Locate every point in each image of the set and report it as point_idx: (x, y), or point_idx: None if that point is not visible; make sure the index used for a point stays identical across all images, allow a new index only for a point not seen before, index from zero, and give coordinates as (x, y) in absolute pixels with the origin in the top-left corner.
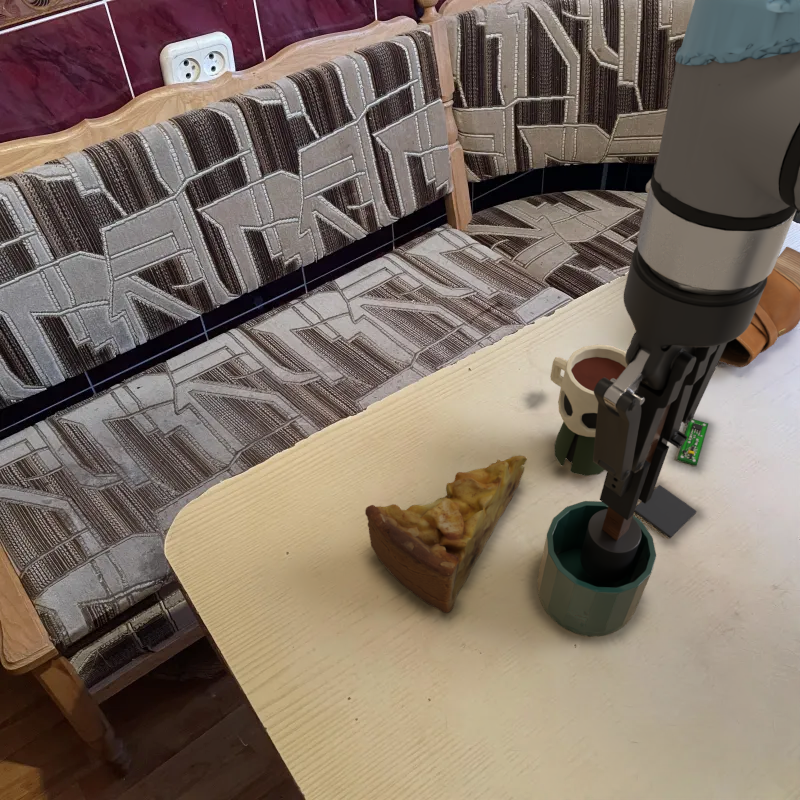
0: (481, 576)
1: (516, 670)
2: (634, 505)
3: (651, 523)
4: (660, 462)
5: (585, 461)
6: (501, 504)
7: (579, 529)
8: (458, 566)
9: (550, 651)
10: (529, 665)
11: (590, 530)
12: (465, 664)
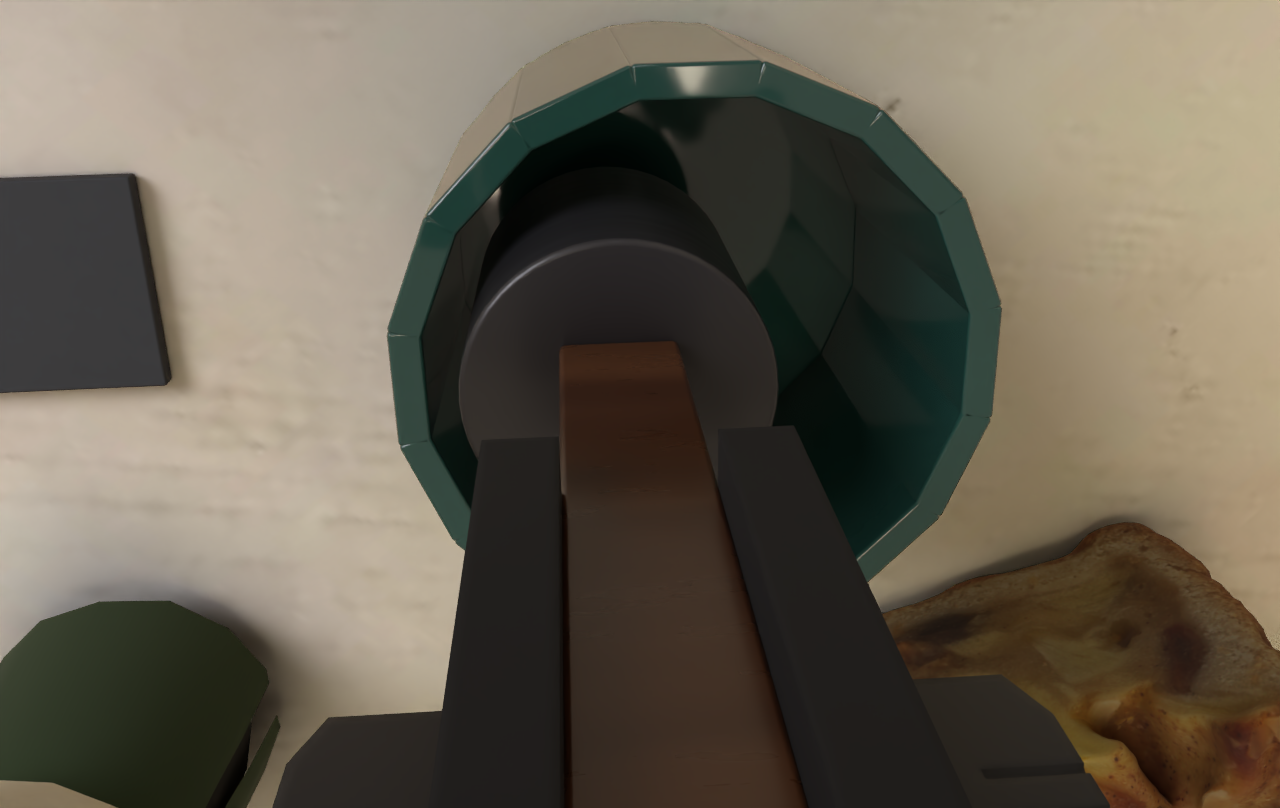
0: (917, 550)
1: (1141, 190)
2: (774, 499)
3: (151, 282)
4: (527, 793)
5: (208, 697)
6: None
7: None
8: (1155, 678)
9: (984, 156)
10: (1091, 171)
11: None
12: (1247, 334)
